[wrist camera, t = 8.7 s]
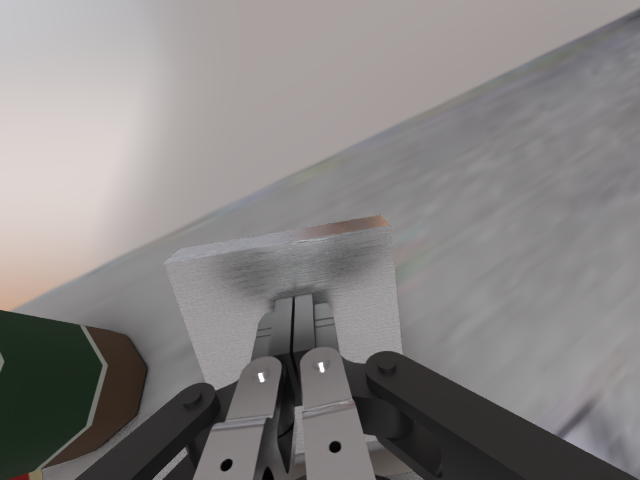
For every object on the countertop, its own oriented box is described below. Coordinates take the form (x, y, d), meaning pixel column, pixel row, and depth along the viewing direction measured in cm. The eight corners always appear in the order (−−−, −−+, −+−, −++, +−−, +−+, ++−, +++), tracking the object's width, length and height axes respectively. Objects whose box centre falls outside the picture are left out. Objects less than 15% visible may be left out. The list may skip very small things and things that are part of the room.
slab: (412, 454, 17) (390, 224, 13) (241, 483, 17) (163, 263, 13) (403, 427, 18) (381, 214, 14) (246, 453, 19) (178, 249, 14)
